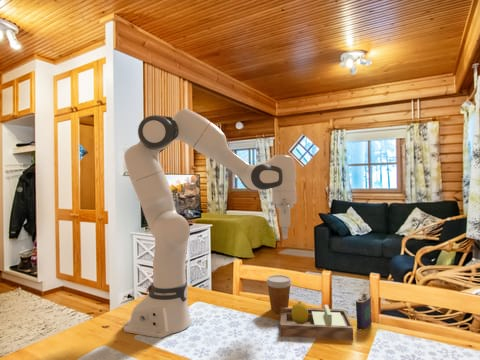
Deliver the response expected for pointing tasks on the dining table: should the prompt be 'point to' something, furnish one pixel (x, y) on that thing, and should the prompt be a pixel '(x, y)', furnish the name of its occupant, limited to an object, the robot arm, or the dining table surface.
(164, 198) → the robot arm
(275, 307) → the disposable coffee cup
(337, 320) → the cover
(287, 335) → the wooden tray
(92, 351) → the dining table surface
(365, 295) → the flask
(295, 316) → the lemon
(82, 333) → the dining table surface
